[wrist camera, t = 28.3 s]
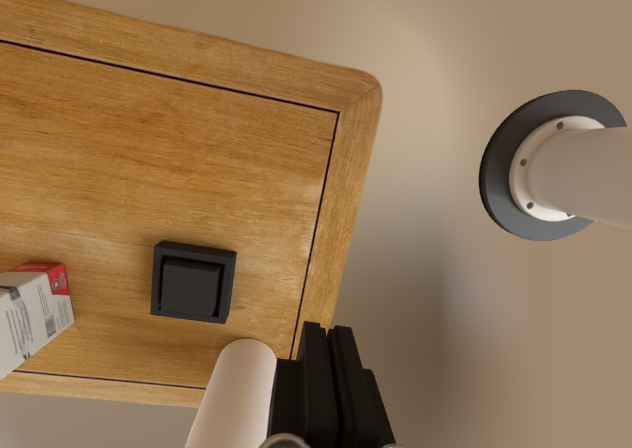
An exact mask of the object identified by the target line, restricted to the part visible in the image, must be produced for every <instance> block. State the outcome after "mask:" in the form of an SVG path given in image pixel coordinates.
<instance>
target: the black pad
mask: <svg viewBox="0 0 632 448" xmlns="http://www.w3.org/2000/svg"><path fill="white" fill-rule="evenodd" d="M221 267H222V264H221V263H215V262H208V261H201V260H195V259H188V258H181V257H175V256H173V257H172V258H170V259H169V260H168V261H167V262H166V263H165V264H164V268H163V284H162V300H161V310H166V311H173V312H181V313H188V314H196V315H204V316H212V314H213V312H214V310H215V308H216V306H217V301H218V293H219V284H220V275H221Z"/></svg>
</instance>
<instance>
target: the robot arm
mask: <svg viewBox="0 0 632 448" xmlns="http://www.w3.org/2000/svg"><path fill="white" fill-rule="evenodd" d="M509 186H510V192H511V195H512V197H513V200H514V201H515V203H516V204H517V206H518V207H519V208H520V209H521V210H522V211H523V212H524V213H526V214H527V215H529V216H531V217H534V218H537V219H540V220H544V221H562V220H567V219H570V218H572V217H575V216H579V217H582V218H586V219H590V220H594V221H598V222H602V223H606V224H610V225H614V226H617V227H622V228H625V229H629V230H632V127H615V128H605V127H604V126H603V125H602V124H600V123H599V122H597V121H596V120H594V119H591V118H588V117H584V116H566V117H561V118H556V119H553V120H551V121H548V122H546V123H544V124H543V125H541V126H539V127H538V128H536V129H535V130H534V131H533V132H532V133H530V134H529V135H528V136H527V137H526V139H525V140H524V141H523V142H522V143H521V145H520V147H519V148H518V150H517V152H516V153H515V156H514V158H513V161H512V163H511V168H510V172H509ZM259 448H409V447H406V446H404V445H401V444H396V442H395V439H394V436H393V432H392V429H391V426H390V423H389V420H388V417H387V414H386V411H385V408H384V405H383V402H382V398H381V396H380V392H379V390H378V386H377V383H376V380H375V377H374V374H373V372H372V371H371V370H370V369H363V367H362V364H361V360H360V357H359V353H358V350H357V346H356V343H355V339H354V336H353V332H352V329H351V328H350V327H345V326H337V325H336V326H335V327H334V329H329V330H328V334H327V337H326V330H325V328H320V323H315V322H308V321H304V323H303V328H302V333H301V338H300V343H299V348H298V353H297V357H296V360H288V359H280V358H278V359H277V363H276V369H275V374H274V380H273V386H272V392H271V400H270V408H269V417H268V425H267V434H266V440H265V441H264V442H263V443H262V444H261V445H260V446H259Z"/></svg>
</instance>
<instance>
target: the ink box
mask: <svg viewBox="0 0 632 448" xmlns="http://www.w3.org/2000/svg"><path fill="white" fill-rule="evenodd" d="M73 323H74V316H73V311H72V305H71V300H70V295H69V289H68V284H67V278H66V272H65V268H64V265H63V264H48V263H25V264H22V265H20V266H18V267H15V268H13V269H11V270H8V271H6V272H4V273H1V274H0V380H1V379H2V378H4V377H5V376H6V375H8V374H9V373H10V372H11V371H13V370H14V369H15V368H17V367H18V366H19V365H20V364H22V363H23V362H24V361H25V360H27V359H28V358H29V357H31V356H32V355H33V354H35V353H36V352H37V351H38V350H40V349H41V348H42V347H44V346H45V345H46V344H47V343H49V342H50V341H51V340H53V339H54V338H55V337H56V336H58V335H59V334H60V333H61V332H63V331H64V330H65V329H67V328H68V327H69V326H70V325H72V324H73Z"/></svg>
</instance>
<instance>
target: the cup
mask: <svg viewBox="0 0 632 448" xmlns="http://www.w3.org/2000/svg"><path fill="white" fill-rule="evenodd" d="M275 369H276V357H275V355H274V353H273V351H272V350H271V348H270V347H269V346H267V345H266V344H265V343H263V342H261V341H258V340H255V339H239V340H235V341H233V342H231V343H229V344H228V345H227V346H225V347H224V348H223V350H222V351H221V353H220V355H219V358H218V360H217V363H216V365H215V368H214V371H213V373H212V376H211V379H210V381H209V384H208V387H207V389H206V392H205V395H204V397H203V400H202V402H201V405H200V408H199V410H198V413H197V416H196V418H195V421H194V424H193V426H192V429H191V431H190V434H189V437H188V439H187V442H186V445H185V447H184V448H259V446H260V445H261V444H262V443H263V442H264V441H265V440H266V434H267V425H268V417H269V408H270V400H271V392H272V386H273V380H274V374H275Z"/></svg>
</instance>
